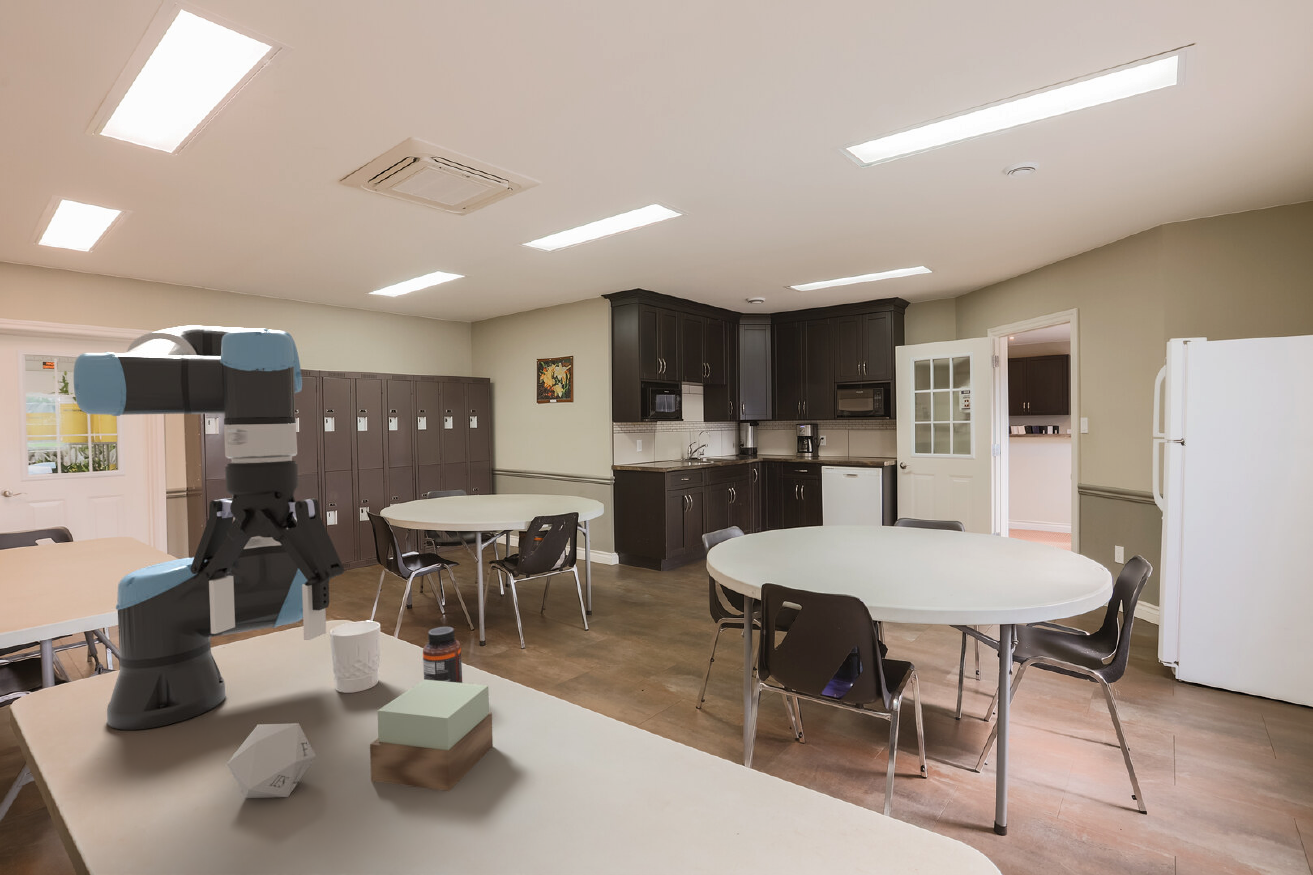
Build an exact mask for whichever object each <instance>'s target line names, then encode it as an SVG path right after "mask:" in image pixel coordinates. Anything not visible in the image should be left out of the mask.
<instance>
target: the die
mask: <svg viewBox="0 0 1313 875" xmlns="http://www.w3.org/2000/svg"><path fill="white" fill-rule="evenodd" d="M316 758H317V756H316V753H315V751H314V749H313V748H312V745H311V744H310V742H309V740H308V738H307V735H306V734H305V733H304V731H303V729H302V727H301V725H300V723H299V722H297V723H296V722H294V723H270V724H269V723H267V724H266V723H264V724H262V723H261V724H256V726H255V727H254V729H253V730H252V731H251V733H250V734H249V735H248V736H247V738H246V739H245V740H244V742H242V743H241V745H240V746H239V748H238V749H237V750H236V751H235V752H234V754H233V755H232V756H231V758H229V760H228V761H227V762H226V766H227V768H228V770H229V771H230V773H231V775H232V777H233V778H234V780H235V783H236V784H237V785H238V788H239V789H240V792H241V793H242V794H243V796H244V798H245V799H266V798H289V797H290V795H291V793H292V792H293V791H294V789H295V787H296V786H297V785H298V783H299V781H300V780H301V779H302V777H303V776H304V774H305V773H306V772H307V771H308V769H309V768H310V766H311V765H312V763H313V762H314V760H315V759H316Z"/></svg>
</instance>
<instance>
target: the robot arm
mask: <svg viewBox="0 0 1313 875" xmlns="http://www.w3.org/2000/svg"><path fill="white" fill-rule="evenodd" d="M300 363H301V362H300V357H299V352H298V349H297V346H296V342H295V339H294V337H292V335H291V334H290V333H288V332H286V331H285V330H277V329H267V328H265V327H262V328H248V327H247V328H246V327H245V328H244V327H224V326H206V325H184V326H183V325H182V326H176V327H170V328H164V329H159V330H155V331H152V332H148V333H146V334H143V335H141V336H139V337H137V338H136V339H135V340H134V341H132V342H131V343H130V345H129V346H128V348H127V350H126V352H124V353H123V352H121V353H118V352H116V353H115V352H111V351H105V352H85V353H81V354H80V355H79V356H77V357H76V359H75V362H74V366H73V389H74V397H75V401H76V404H77V406H78V408H79V409H80V410H81V412H83V413H85V414H87V415H103V416H104V415H106V416H107V415H108V416H109V415H110V416H113V417H119V416H124V415H126V416H127V415H131V416H132V415H173V414H174V415H175V414H176V415H178V414H179V415H224V419H223V424H224V425H223V429H224V433H223V434H224V457H225V458H226V459H230V460H231V463H227V464H226V466H225V469H224V472H225V490H226V492H227V493H228V494H229V495H232V498H231V497H230V498H221V499H213V500H211V501H210V502H209V508H208V519H207V522H206V525H205V527H204V530H203V533H202V535H201V538H200V542H199V544H198V547H197V549H196V552H195V554H194V556H193V557H184V558H179V559H174V560H173V559H172V560H169V561H163V562H160V563H156V564H153V565H149V566H146V567H145V566H144V567H142V568H139V569H137V570H134V571H132V572H130V573H128V574H126V575H125V576H123V577H122V578H121V580H120V581H119V582H118V586H117V598H116V599H117V601H116V602H117V603H116V605H115V609H116V610H117V623H118V624H117V625H118V626H117V627H118V649H119V650H118V652H119V672H118V675H117V677H116V678H117V679H116V681H115V684H114V688H113V690H112V695H111V698H110V700H109V702H108V704H107V707H106V718H107V719H106V721H107V723H106V724H107V725H108V726H109V727H110V728H113V729H116V730H124V731H127V730H128V731H131V730H133V731H134V730H143V729H144V730H145V729H150V728H151V729H152V728H153V729H154V728H157V727H163V726H167V725H171V724H175V723H179V722H182V721H185V720H189V719H191V718H195V717H196V716H200V715H202V714H204V713H206V712H208V711H211V710H212V709H214V708H216V707H217V706H218V705H220V704H221V703H222V702H223V701H224V700H225V698H226V683H225V682H226V681H225V679H224V678H223V677H222V674H221V672H220V669H219V667H218V664H217V662H216V660H215V658H214V655H213V654H212V647H211V644H212V643H211V638H212V637H219V636H227V635H233V634H239V633H244V632H250V631H258V630H264V629H269V628H270V629H271V628H273V629H275V628H276V629H277V628H278V627H280V626H285V625H286V626H287V625H290V624H295V623H298V622H300V621H301V620H303V623H302V624H303V640H304V641H311V640H313V639H316V638H317V637H320V636H322V635H324V634H326V633H327V620H326V618H327V617H326V615H327V614H326V608H329V605H330V580H331V579H333V578H336V577H338V576H340V575H343V574H344V572H345V568H344V566H343V564H342V561H341V559H340V557H339V554H338V552H337V550H336V548H335V545H334V544H333V542H332V539H331V537H330V535H329V532H328V531H327V528H326V526H325V524H324V522H323V520H322V517H321V514H320V513H321V512H320V504H319V501H318V499H316V498H309V499H303V500H302V499H301V500H296V498H295V491H296V490H297V489H298V487H299V470H298V469H299V468H298V467H299V465H298V463H297V461H296V460H293V457H296V456H297V455H298V442H297V441H298V438H297V424H296V422H297V421H296V420H297V419H296V394H298V393H300V392H301V391H302V388H303V378H302V372H301V370H302V368H301V364H300Z"/></svg>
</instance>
